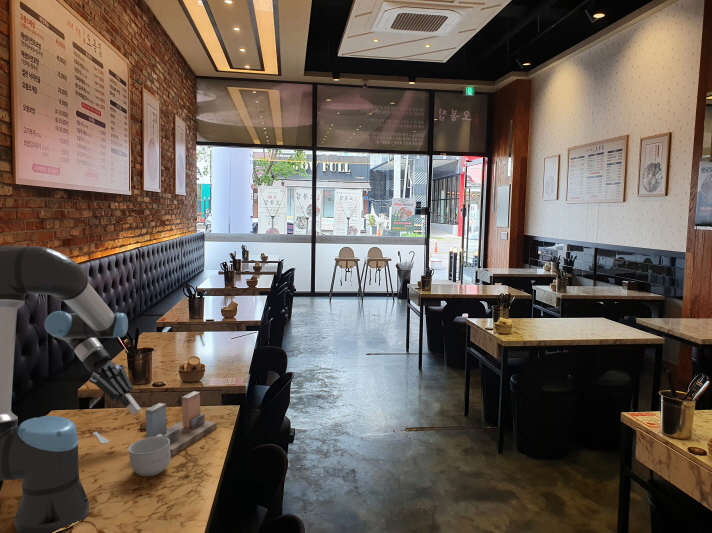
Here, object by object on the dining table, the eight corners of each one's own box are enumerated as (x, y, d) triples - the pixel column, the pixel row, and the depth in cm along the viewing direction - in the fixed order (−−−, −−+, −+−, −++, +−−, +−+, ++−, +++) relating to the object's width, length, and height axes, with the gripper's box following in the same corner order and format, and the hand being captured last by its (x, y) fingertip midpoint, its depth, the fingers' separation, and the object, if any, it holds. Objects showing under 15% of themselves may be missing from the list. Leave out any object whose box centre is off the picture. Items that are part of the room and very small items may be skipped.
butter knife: (100, 444, 165) (110, 441, 167) (77, 422, 182) (86, 419, 184) (100, 445, 165) (110, 443, 167) (77, 423, 182) (86, 421, 184)
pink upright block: (189, 427, 172) (188, 397, 171) (182, 426, 173) (181, 397, 172) (200, 421, 178) (199, 392, 177) (194, 420, 179) (193, 391, 178)
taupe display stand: (172, 456, 157) (172, 440, 157) (140, 450, 161) (139, 434, 161) (216, 428, 178) (216, 413, 177) (186, 423, 182) (186, 409, 181)
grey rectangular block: (153, 442, 161) (152, 410, 160) (146, 441, 162) (145, 409, 161) (166, 434, 167) (165, 404, 166) (160, 433, 168) (159, 403, 167)
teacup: (157, 482, 142) (156, 454, 141) (120, 478, 144) (119, 450, 143) (184, 459, 155) (183, 432, 155) (150, 455, 158) (149, 429, 157)
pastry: (150, 432, 175) (150, 421, 175) (134, 429, 177) (133, 418, 177) (169, 421, 184) (169, 411, 183) (153, 419, 186) (153, 408, 186)
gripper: (102, 357, 178) (145, 411, 174) (70, 367, 166) (114, 426, 162) (114, 343, 176) (157, 398, 172) (82, 352, 163) (128, 412, 160)
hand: (137, 412), depth 167 cm, fingers closed
